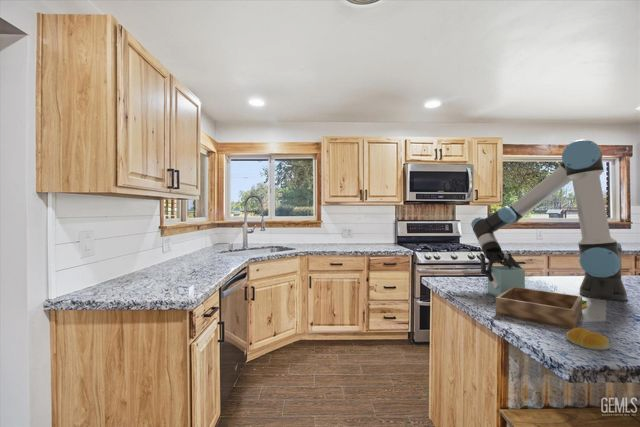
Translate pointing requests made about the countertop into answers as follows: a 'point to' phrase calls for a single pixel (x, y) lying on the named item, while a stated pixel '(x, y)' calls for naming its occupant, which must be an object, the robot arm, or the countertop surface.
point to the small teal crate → (506, 279)
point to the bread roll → (587, 339)
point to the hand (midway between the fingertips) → (509, 287)
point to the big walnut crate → (540, 307)
